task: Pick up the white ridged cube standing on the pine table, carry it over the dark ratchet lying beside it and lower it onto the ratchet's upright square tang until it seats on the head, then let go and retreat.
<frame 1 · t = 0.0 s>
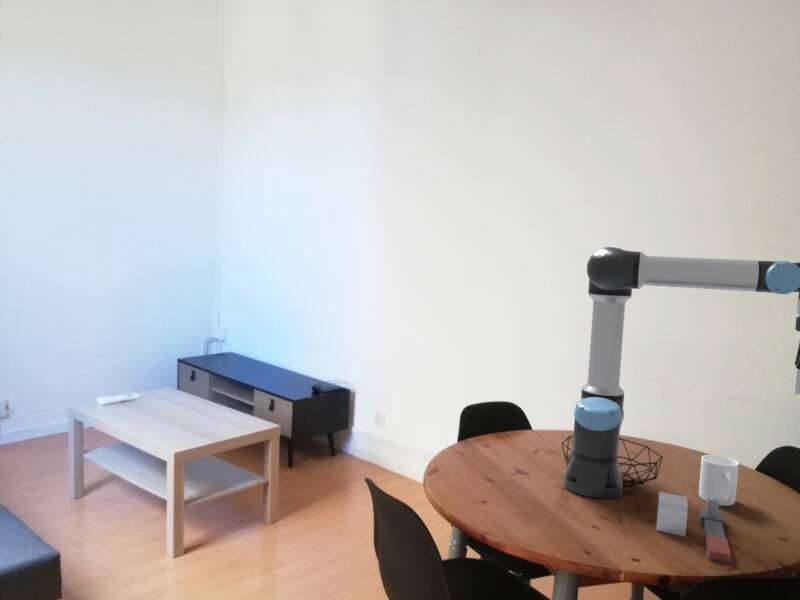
mug: (719, 503, 159), on the table
white ridged cube: (670, 528, 142), on the table
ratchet: (711, 522, 146), on the table
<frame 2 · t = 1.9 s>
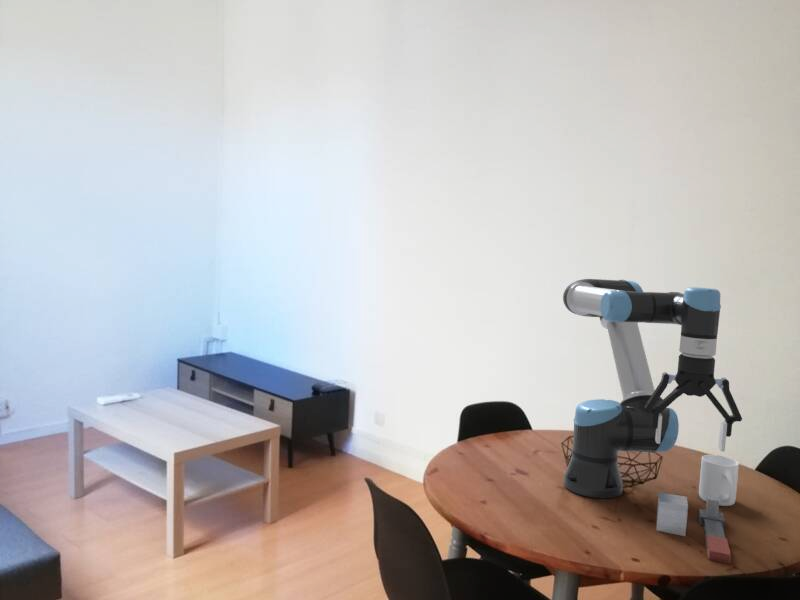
hand: (689, 445, 142), 19 cm above the table, fingers open, 13 cm apart
nothing on the table moved.
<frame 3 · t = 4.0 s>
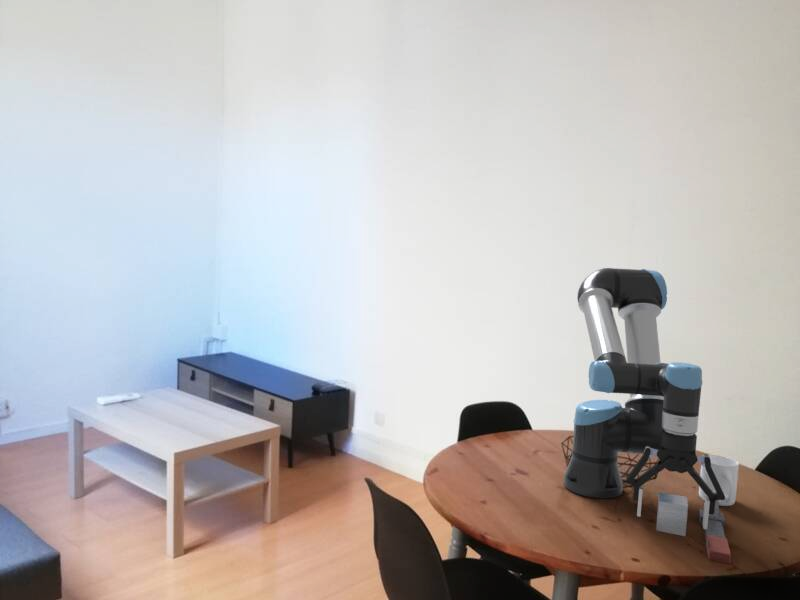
hand: (671, 521, 141), 2 cm above the table, fingers open, 13 cm apart
nothing on the table moved.
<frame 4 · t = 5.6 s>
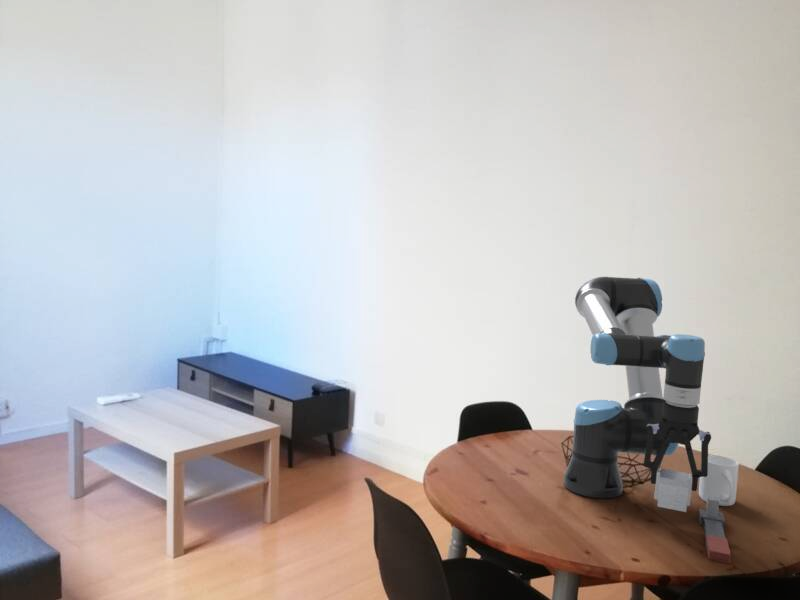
hand: (671, 499, 142), 6 cm above the table, fingers closed on white ridged cube, 6 cm apart
white ridged cube: (671, 504, 142), point 6 cm above the table, touching gripper
everything else where it was.
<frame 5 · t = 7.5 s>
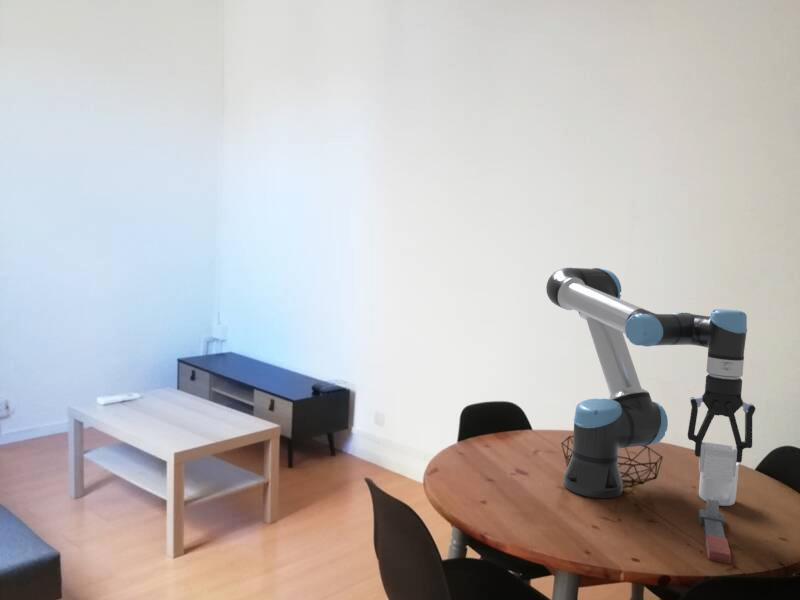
hand: (716, 472, 145), 12 cm above the table, fingers closed on white ridged cube, 6 cm apart
white ridged cube: (716, 476, 144), point 12 cm above the table, touching gripper
everything else where it was.
when the fingers open (3 cm above the table, at t = 9.4 s): white ridged cube stays where it is, resting on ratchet.
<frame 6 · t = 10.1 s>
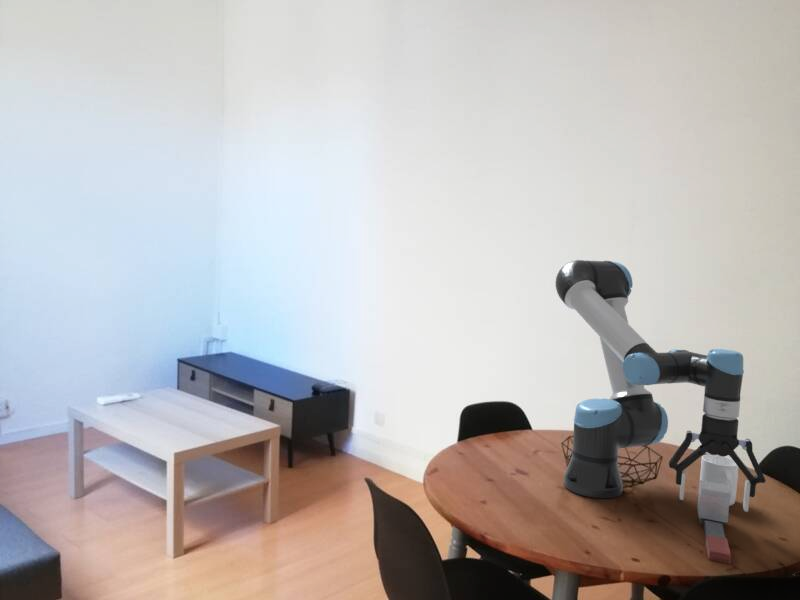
hand: (712, 503, 146), 5 cm above the table, fingers open, 13 cm apart
white ridged cube: (711, 515, 145), point 2 cm above the table, touching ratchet
everything else where it was.
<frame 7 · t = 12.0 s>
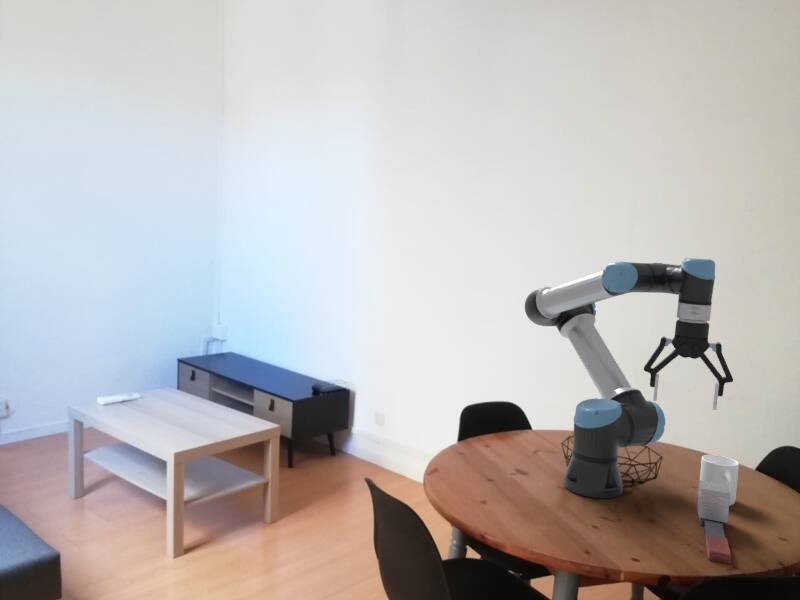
hand: (683, 404, 154), 26 cm above the table, fingers open, 13 cm apart
nothing on the table moved.
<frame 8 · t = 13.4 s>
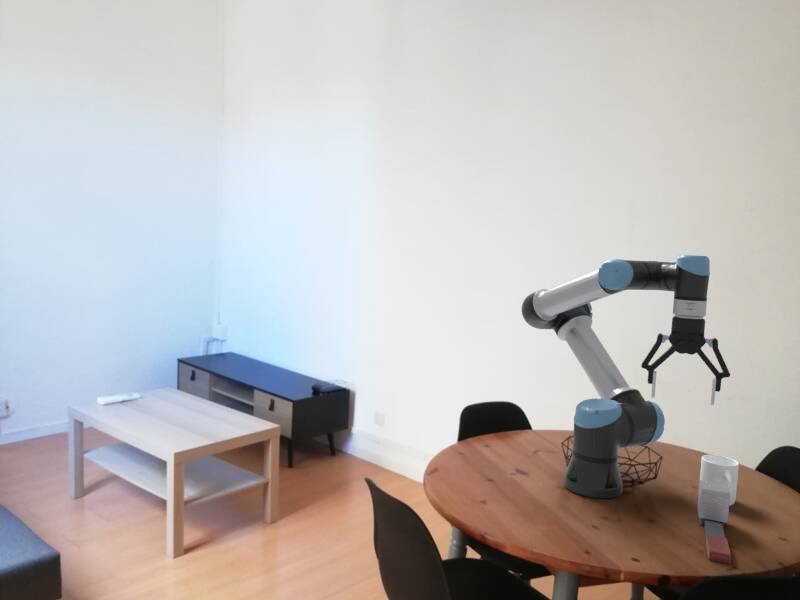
hand: (681, 400, 155), 27 cm above the table, fingers open, 13 cm apart
nothing on the table moved.
at the end: white ridged cube 0.4 cm off-centre on the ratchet, point 2.0 cm above the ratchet's base; white ridged cube tilted 0°; the gripper is holding nothing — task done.
